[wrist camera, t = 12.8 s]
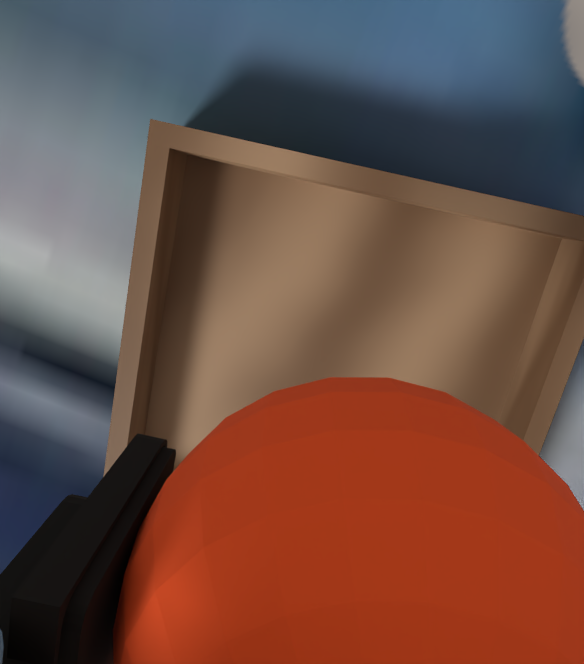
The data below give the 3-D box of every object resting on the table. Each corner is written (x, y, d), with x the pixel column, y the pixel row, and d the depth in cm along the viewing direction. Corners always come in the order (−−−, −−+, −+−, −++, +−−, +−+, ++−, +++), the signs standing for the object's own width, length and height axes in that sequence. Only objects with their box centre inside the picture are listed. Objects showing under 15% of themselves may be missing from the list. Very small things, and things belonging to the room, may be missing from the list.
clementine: (515, 639, 11) (820, 1289, 5) (224, 661, 12) (106, 1275, 5) (502, 305, 10) (987, 561, 3) (156, 350, 10) (-179, 659, 3)
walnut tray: (576, 222, 18) (627, 225, 15) (456, 560, 22) (478, 614, 19) (177, 133, 18) (150, 119, 15) (125, 489, 22) (96, 532, 19)
